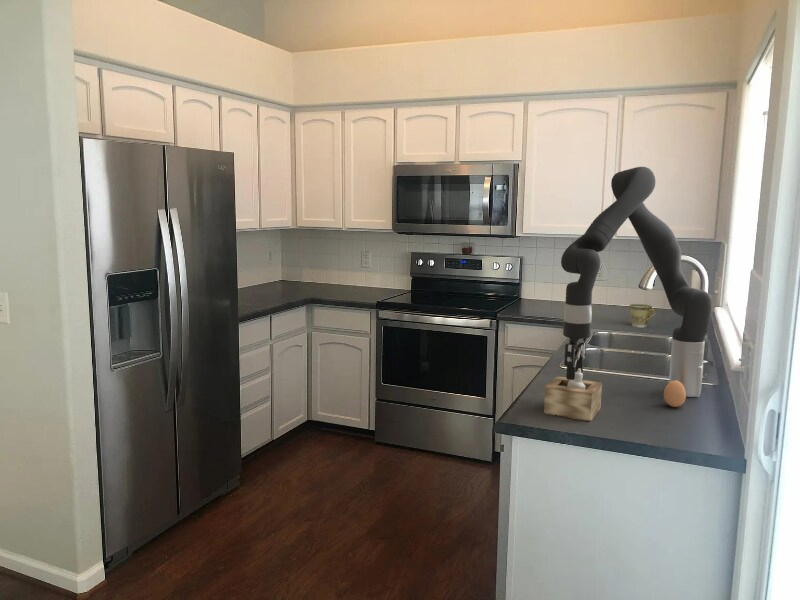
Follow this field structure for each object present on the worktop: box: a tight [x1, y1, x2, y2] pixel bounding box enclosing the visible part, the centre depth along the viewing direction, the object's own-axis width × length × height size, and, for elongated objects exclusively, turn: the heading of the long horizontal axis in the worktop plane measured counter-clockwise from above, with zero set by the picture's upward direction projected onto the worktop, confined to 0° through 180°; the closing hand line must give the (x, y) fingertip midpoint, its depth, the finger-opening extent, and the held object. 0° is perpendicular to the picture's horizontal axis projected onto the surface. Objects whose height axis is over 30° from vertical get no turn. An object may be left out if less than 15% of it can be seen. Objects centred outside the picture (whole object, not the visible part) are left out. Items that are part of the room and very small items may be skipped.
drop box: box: [543, 375, 603, 423], centre depth 185 cm, size 13×12×8 cm
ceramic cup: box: [629, 303, 657, 328], centre depth 307 cm, size 13×10×10 cm
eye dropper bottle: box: [567, 368, 586, 389], centre depth 184 cm, size 4×6×12 cm
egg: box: [663, 380, 687, 408], centre depth 190 cm, size 6×6×8 cm
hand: (574, 375), depth 184 cm, fingers open, 8 cm apart
